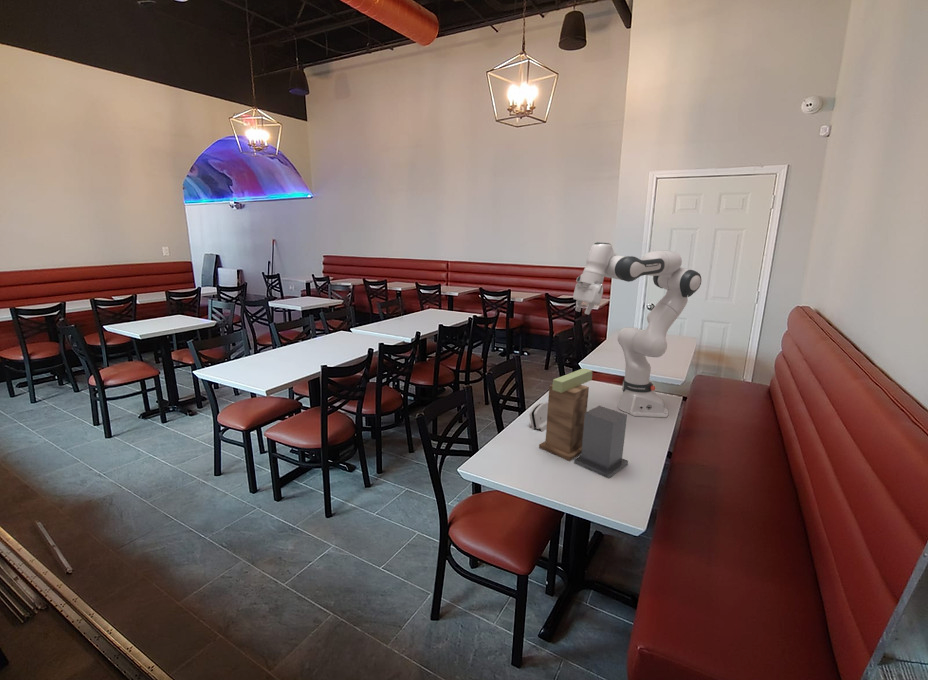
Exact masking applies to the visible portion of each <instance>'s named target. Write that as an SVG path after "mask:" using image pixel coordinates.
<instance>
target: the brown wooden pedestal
mask: <svg viewBox="0 0 928 680" xmlns="http://www.w3.org/2000/svg"><path fill="white" fill-rule="evenodd" d="M552 387H553V383H552V384H550V385H549V386H548V400H547V401H548V402H547V403H548V413H547V428H546V430H545V431H546V432H545V441H543V442H541V443H539V444H538V448H539V449H541V450H543V451H546V452H548V453H550V454H552V455H554V456H557V457H558V458H561V459H563V460H565V461H568V462H571V461H572V460H575V459H576V458H578V457H579V456H581V453H582V441H583V430H584V419H585V413H586V412H588V401H589V387H590V386H587V385H584V384H581V385H579V386H576V387H574V388H572V389H569V390H567V391H565V392H562V393H561V392H557V391H554V390H552Z"/></svg>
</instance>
